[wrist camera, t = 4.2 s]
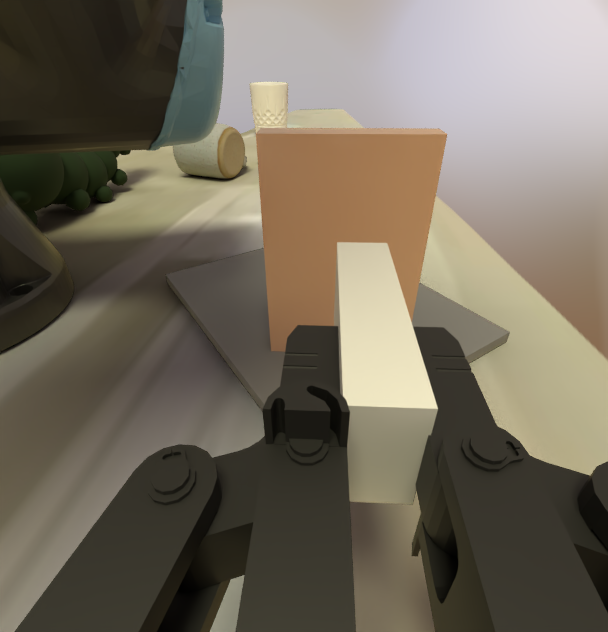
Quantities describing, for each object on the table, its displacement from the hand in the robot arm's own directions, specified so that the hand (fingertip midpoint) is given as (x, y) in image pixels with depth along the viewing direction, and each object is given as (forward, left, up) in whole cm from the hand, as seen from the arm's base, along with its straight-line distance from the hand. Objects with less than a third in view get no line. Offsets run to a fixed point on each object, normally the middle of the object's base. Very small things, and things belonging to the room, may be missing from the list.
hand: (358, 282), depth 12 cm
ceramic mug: (-51, +15, -10) cm, 54 cm away
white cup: (-73, +37, -10) cm, 83 cm away
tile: (-6, +4, -9) cm, 12 cm away
